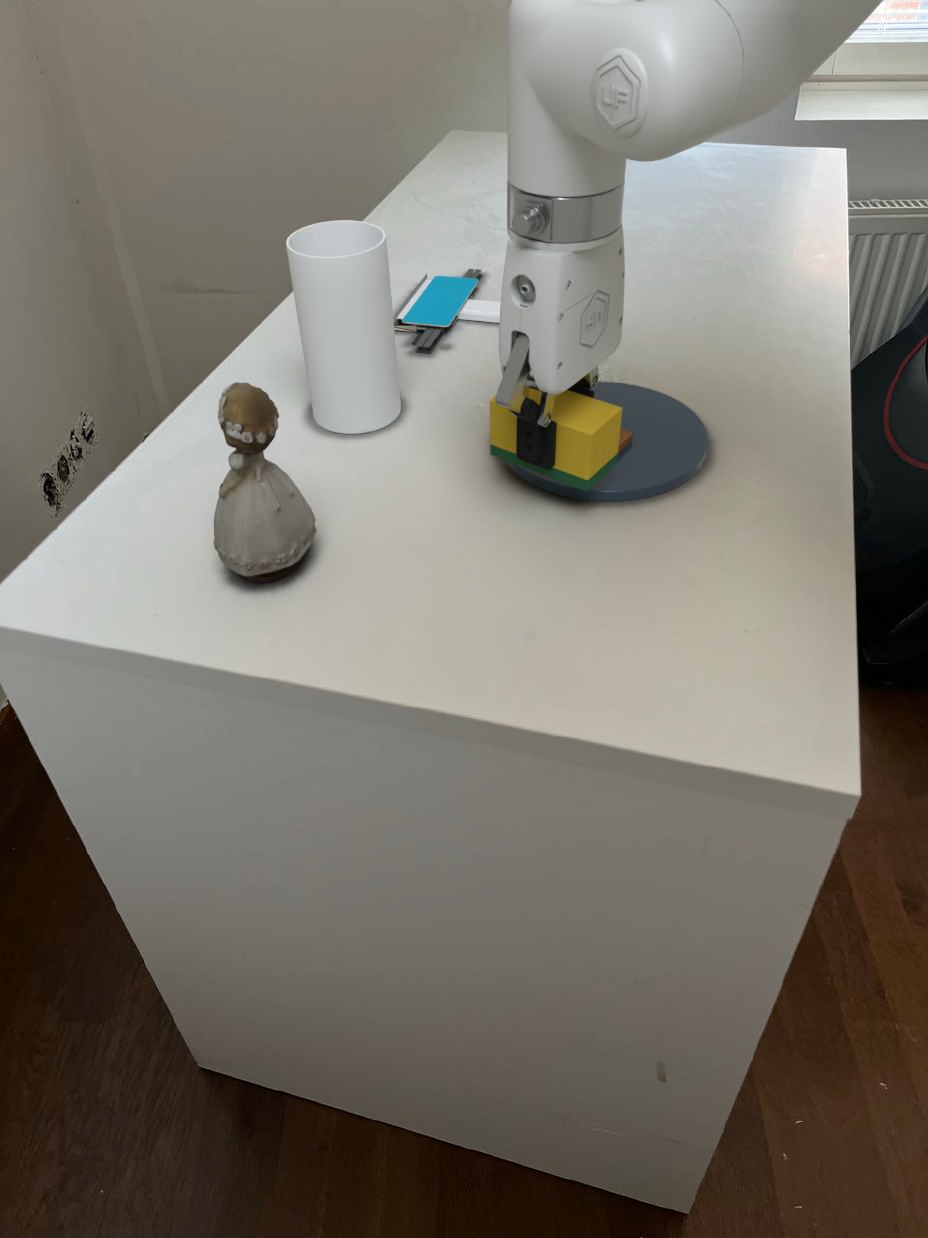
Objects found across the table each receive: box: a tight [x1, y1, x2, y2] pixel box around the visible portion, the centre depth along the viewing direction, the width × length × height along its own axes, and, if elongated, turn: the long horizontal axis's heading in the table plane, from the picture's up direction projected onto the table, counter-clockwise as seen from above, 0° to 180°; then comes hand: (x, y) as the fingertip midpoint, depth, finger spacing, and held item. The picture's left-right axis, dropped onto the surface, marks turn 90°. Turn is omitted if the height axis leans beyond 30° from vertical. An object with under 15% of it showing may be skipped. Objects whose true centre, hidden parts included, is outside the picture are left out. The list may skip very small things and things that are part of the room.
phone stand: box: [393, 268, 501, 354], centre depth 102 cm, size 20×12×2 cm, turn 164°
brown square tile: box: [618, 429, 633, 453], centre depth 80 cm, size 4×4×1 cm
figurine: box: [213, 381, 318, 584], centre depth 66 cm, size 8×7×15 cm
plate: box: [505, 381, 709, 502], centre depth 82 cm, size 18×18×1 cm
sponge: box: [489, 388, 622, 491], centre depth 73 cm, size 5×9×5 cm, turn 54°
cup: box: [285, 219, 402, 435], centre depth 82 cm, size 8×8×16 cm
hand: (554, 444), depth 73 cm, fingers closed on sponge, 4 cm apart
